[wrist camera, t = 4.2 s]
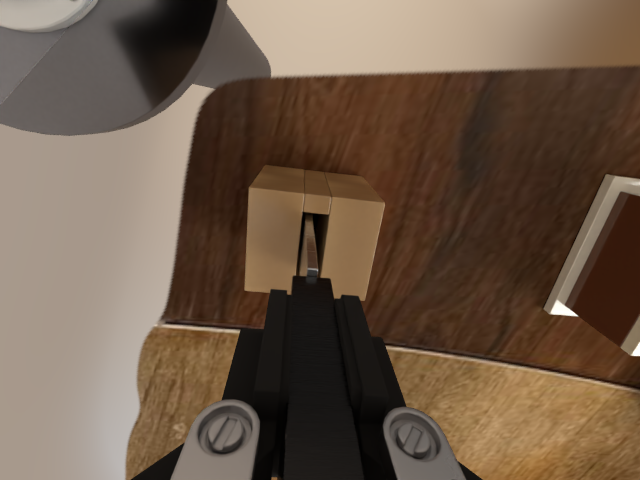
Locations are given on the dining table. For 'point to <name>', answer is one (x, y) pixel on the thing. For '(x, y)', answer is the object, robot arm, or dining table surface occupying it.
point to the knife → (317, 382)
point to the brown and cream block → (605, 266)
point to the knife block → (331, 236)
